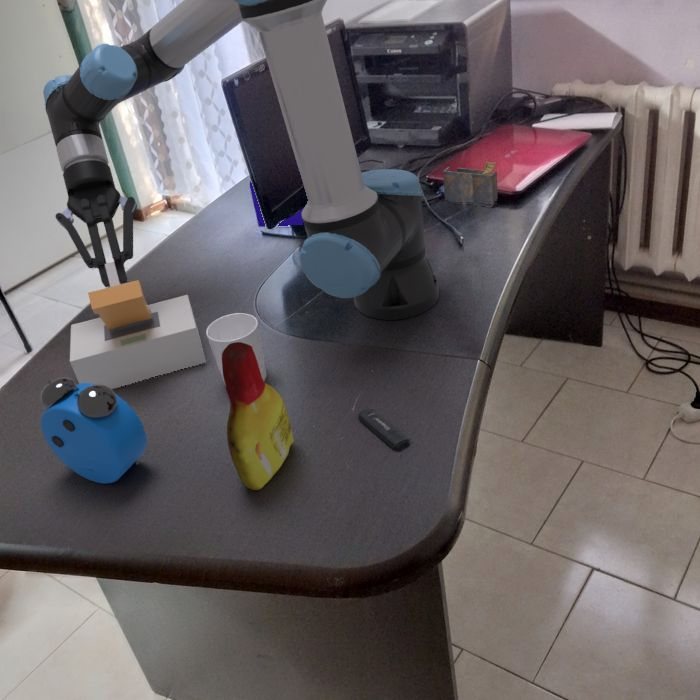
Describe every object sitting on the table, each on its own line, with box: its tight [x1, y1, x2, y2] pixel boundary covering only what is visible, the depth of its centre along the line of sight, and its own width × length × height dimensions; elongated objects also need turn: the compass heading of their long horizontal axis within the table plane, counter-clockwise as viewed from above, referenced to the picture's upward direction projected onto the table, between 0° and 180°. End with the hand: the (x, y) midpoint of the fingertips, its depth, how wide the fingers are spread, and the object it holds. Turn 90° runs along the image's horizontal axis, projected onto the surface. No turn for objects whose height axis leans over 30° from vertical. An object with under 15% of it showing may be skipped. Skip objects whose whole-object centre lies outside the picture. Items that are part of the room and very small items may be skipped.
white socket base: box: [69, 294, 207, 390], centre depth 123 cm, size 12×20×7 cm, turn 107°
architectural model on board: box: [442, 160, 498, 205], centre depth 158 cm, size 11×3×10 cm, turn 57°
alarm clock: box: [40, 377, 148, 484], centre depth 98 cm, size 13×6×15 cm, turn 65°
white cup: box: [205, 312, 267, 387], centre depth 113 cm, size 8×8×10 cm
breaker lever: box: [87, 279, 153, 331], centre depth 116 cm, size 3×8×11 cm
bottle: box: [222, 342, 295, 491], centre depth 93 cm, size 12×6×20 cm, turn 161°
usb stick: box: [357, 408, 410, 452], centre depth 101 cm, size 10×3×2 cm, turn 34°
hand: (120, 303), depth 117 cm, fingers closed
